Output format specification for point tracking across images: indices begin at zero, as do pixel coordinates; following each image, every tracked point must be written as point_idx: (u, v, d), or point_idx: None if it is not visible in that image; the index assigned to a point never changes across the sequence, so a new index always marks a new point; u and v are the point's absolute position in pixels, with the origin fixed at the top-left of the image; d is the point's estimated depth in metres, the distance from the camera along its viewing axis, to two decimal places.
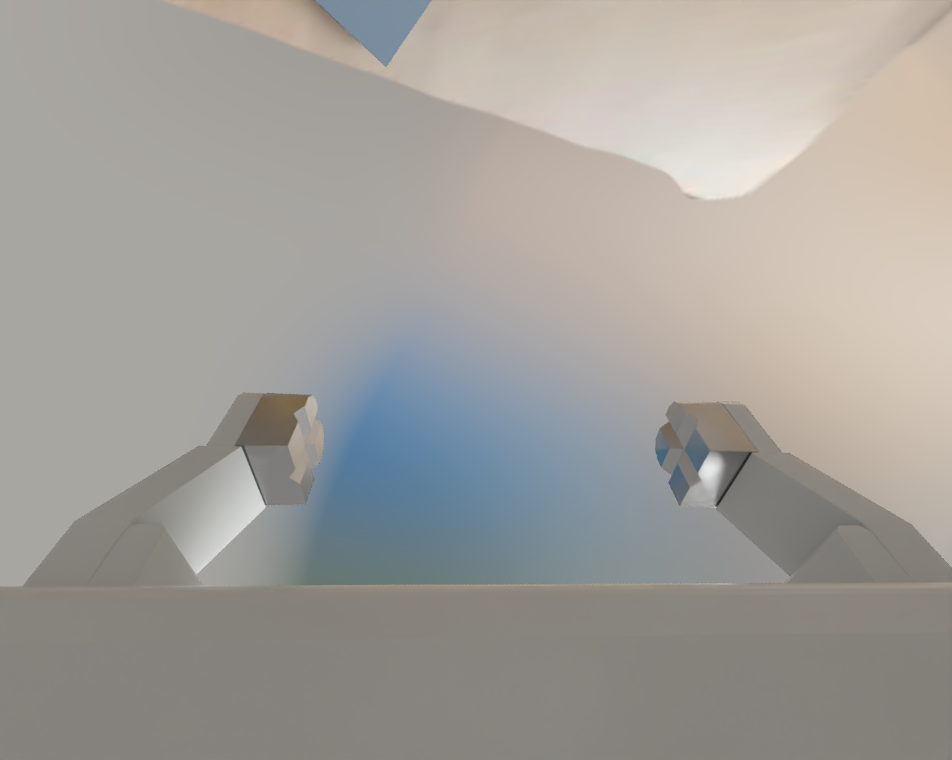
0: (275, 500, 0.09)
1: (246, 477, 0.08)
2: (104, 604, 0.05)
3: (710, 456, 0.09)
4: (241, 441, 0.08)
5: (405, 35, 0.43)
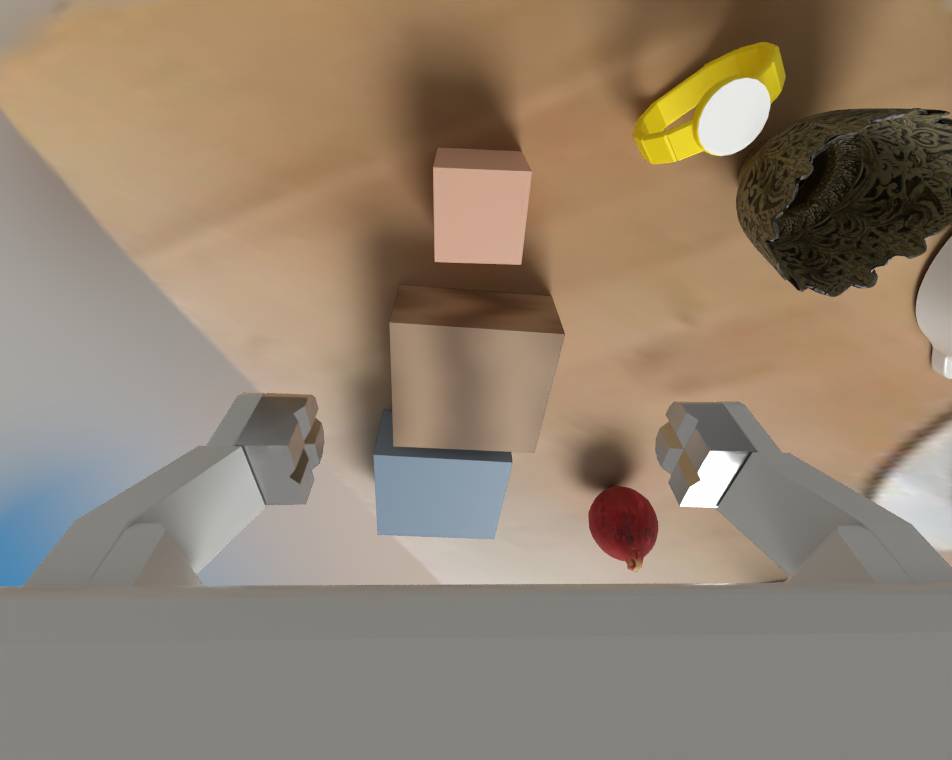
0: (275, 500, 0.09)
1: (246, 477, 0.08)
2: (104, 604, 0.05)
3: (710, 456, 0.09)
4: (241, 440, 0.08)
5: (420, 535, 0.37)
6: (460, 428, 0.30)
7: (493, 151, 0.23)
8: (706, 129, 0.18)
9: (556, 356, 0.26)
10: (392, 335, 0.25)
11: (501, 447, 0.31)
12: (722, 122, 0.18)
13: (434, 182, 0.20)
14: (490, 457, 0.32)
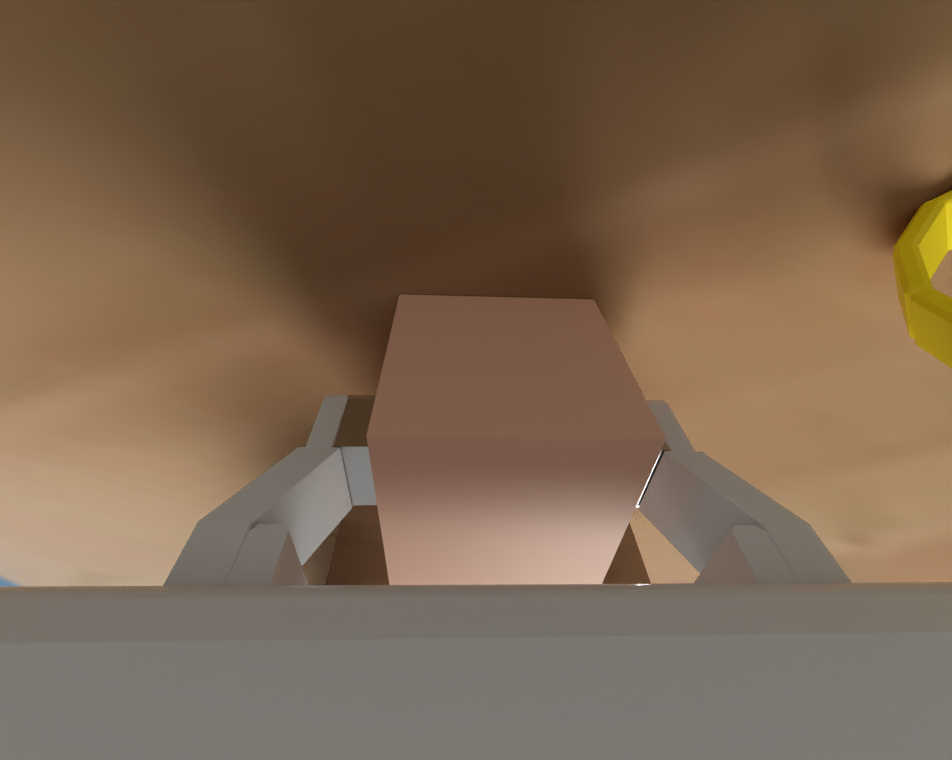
0: (360, 500, 0.09)
1: (340, 478, 0.08)
2: (104, 604, 0.05)
3: None
4: (339, 442, 0.08)
5: None
6: None
7: (531, 308, 0.10)
8: None
9: None
10: None
11: None
12: None
13: (374, 465, 0.07)
14: None
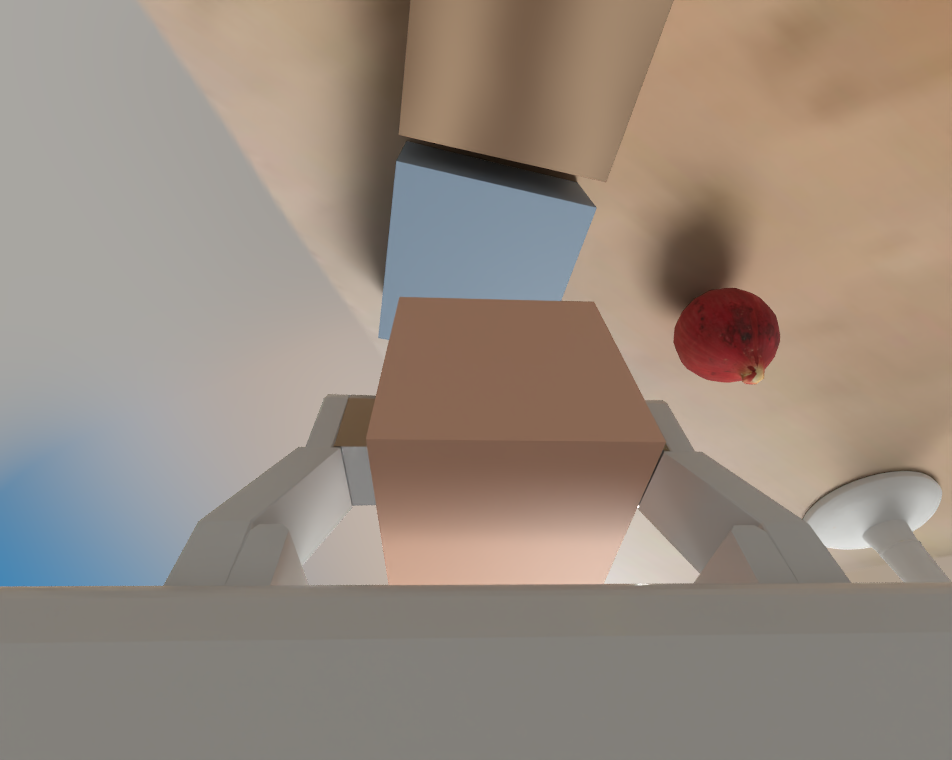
0: (361, 500, 0.09)
1: (340, 478, 0.08)
2: (104, 604, 0.05)
3: None
4: (338, 442, 0.08)
5: None
6: (507, 105, 0.19)
7: (531, 310, 0.10)
8: None
9: None
10: None
11: (561, 162, 0.21)
12: None
13: (373, 468, 0.07)
14: (566, 198, 0.22)
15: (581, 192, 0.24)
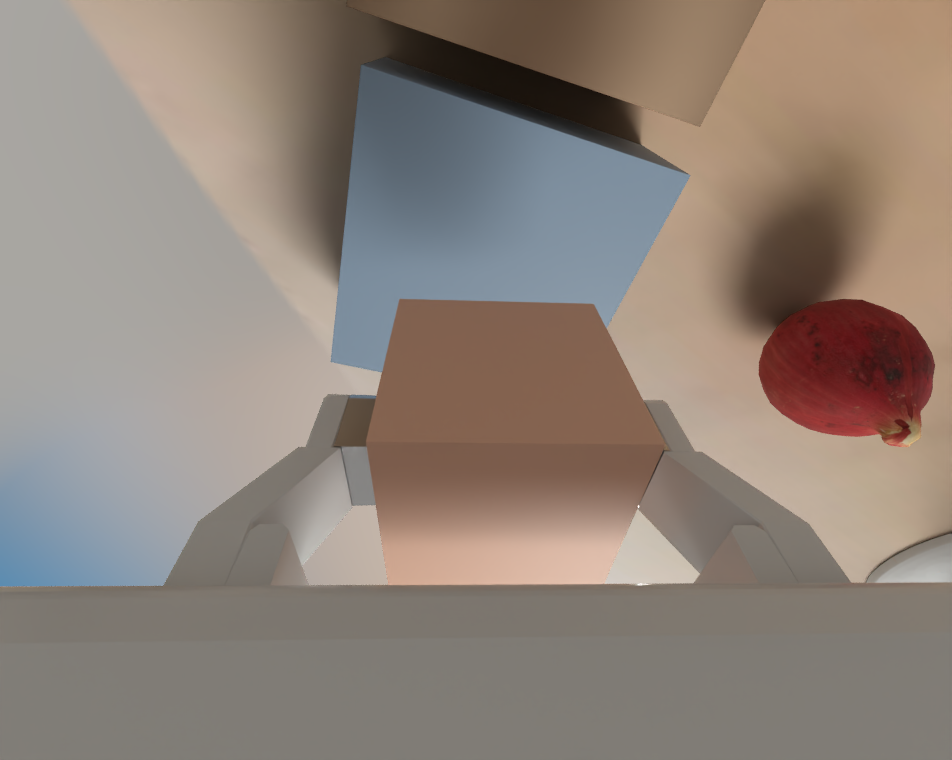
0: (361, 500, 0.09)
1: (340, 478, 0.08)
2: (104, 604, 0.05)
3: None
4: (339, 442, 0.08)
5: None
6: None
7: (531, 312, 0.10)
8: None
9: None
10: None
11: (630, 84, 0.12)
12: None
13: (373, 471, 0.07)
14: (642, 157, 0.13)
15: (654, 155, 0.15)
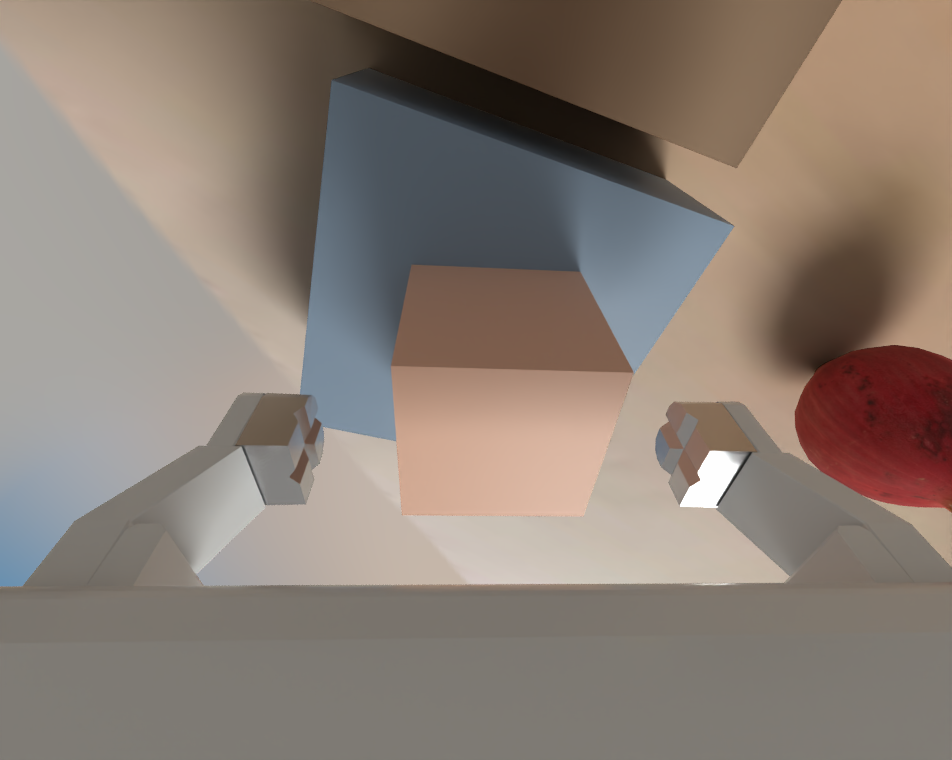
0: (275, 500, 0.09)
1: (246, 477, 0.08)
2: (104, 604, 0.05)
3: (710, 456, 0.09)
4: (241, 441, 0.08)
5: None
6: None
7: (526, 277, 0.11)
8: None
9: None
10: None
11: (656, 112, 0.09)
12: None
13: (395, 393, 0.08)
14: (677, 203, 0.11)
15: (685, 195, 0.13)
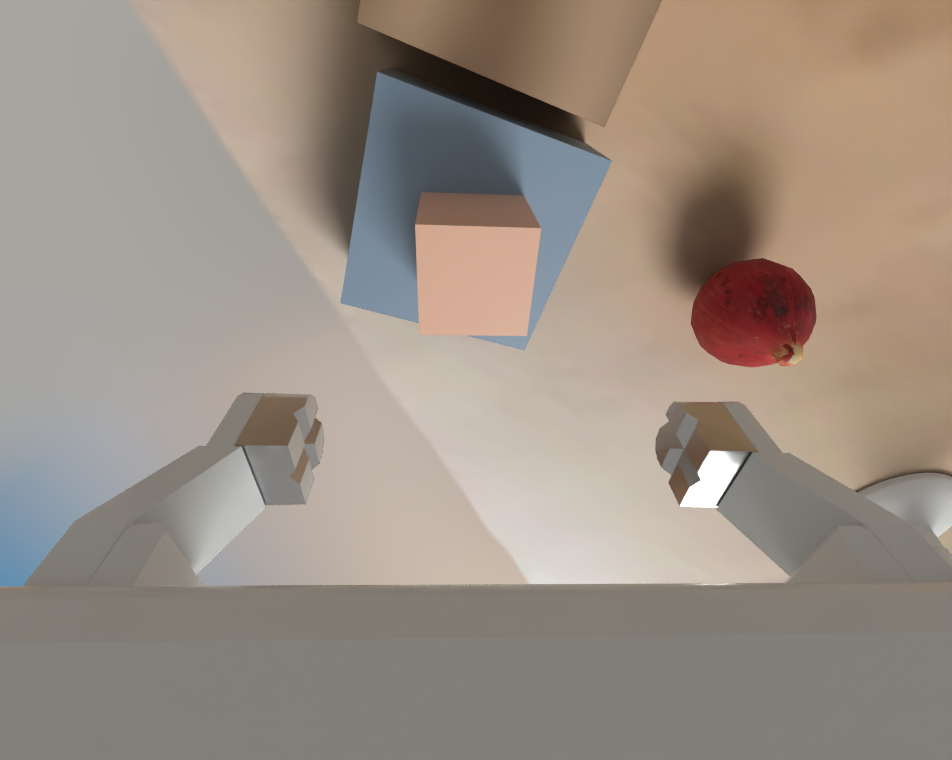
0: (275, 500, 0.09)
1: (246, 477, 0.08)
2: (104, 604, 0.05)
3: (710, 456, 0.09)
4: (241, 440, 0.08)
5: (411, 318, 0.23)
6: (497, 5, 0.15)
7: (490, 197, 0.19)
8: None
9: None
10: None
11: (554, 93, 0.17)
12: None
13: (417, 242, 0.16)
14: (577, 147, 0.18)
15: (591, 148, 0.21)
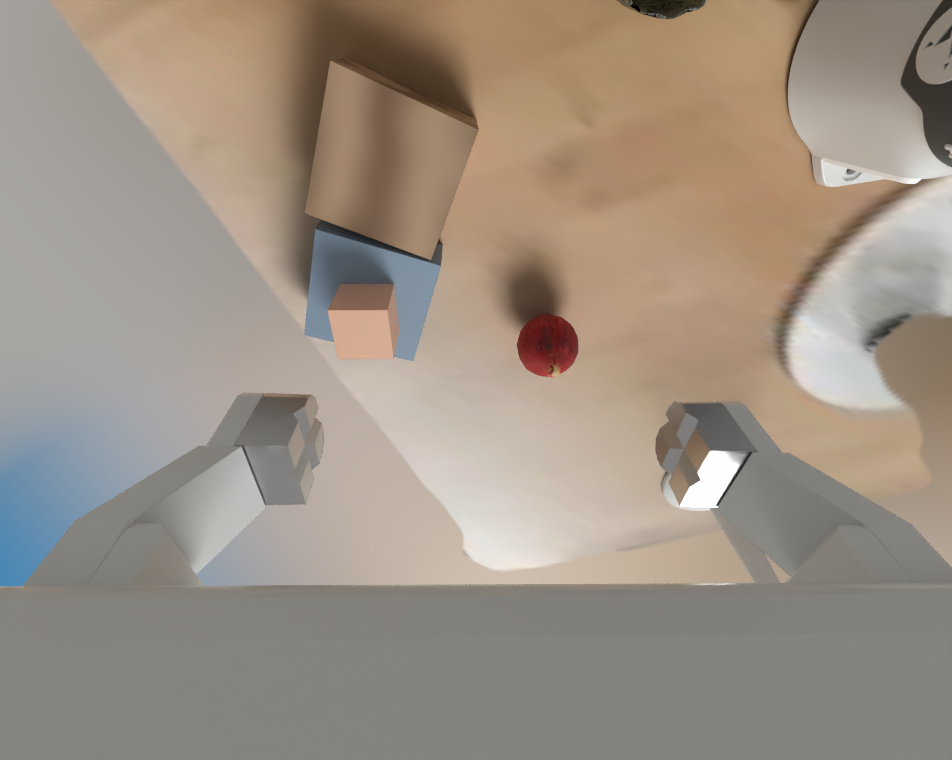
0: (275, 500, 0.09)
1: (246, 477, 0.08)
2: (104, 604, 0.05)
3: (710, 456, 0.09)
4: (241, 440, 0.08)
5: None
6: (370, 209, 0.33)
7: (374, 286, 0.36)
8: None
9: (467, 152, 0.31)
10: (330, 77, 0.28)
11: (403, 245, 0.34)
12: None
13: (329, 317, 0.33)
14: (422, 258, 0.36)
15: (439, 253, 0.38)
